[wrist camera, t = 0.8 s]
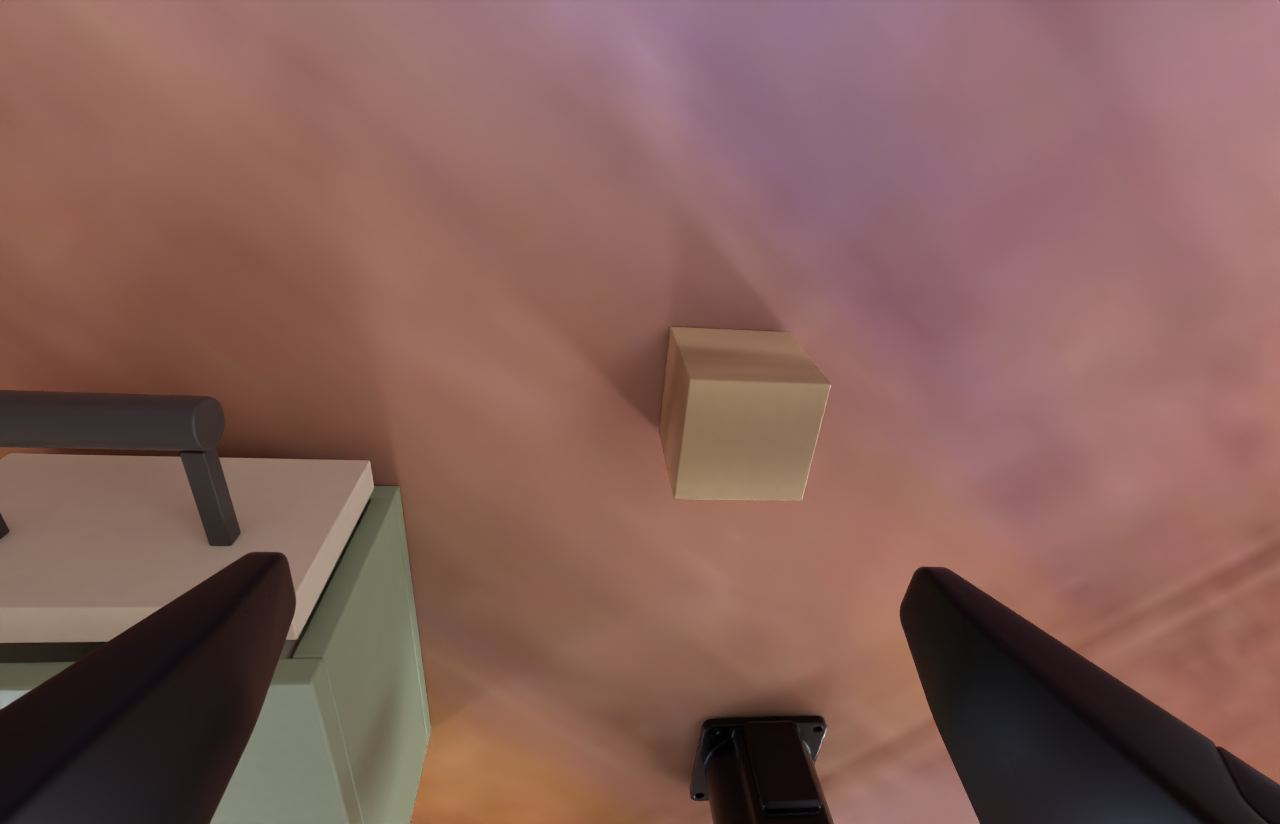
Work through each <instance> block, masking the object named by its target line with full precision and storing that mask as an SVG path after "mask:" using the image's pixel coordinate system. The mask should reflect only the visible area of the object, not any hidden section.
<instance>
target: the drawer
mask: <svg viewBox="0 0 1280 824" xmlns="http://www.w3.org/2000/svg"><path fill="white" fill-rule="evenodd" d="M224 425H225V418H224V412H223V409H222V406H221V405H220V403H219V402H218V401H217V400H216V399H214V398H212V397H209V396H180V395H147V394H114V393H81V392H48V391H15V390H0V447H25V448H73V449H121V450H169V451H181V452H180V457H169V456H119V455H68V454H17V453H10V454H7V455H6V456H4V457H3V458H1V459H0V663H20V662H76V661H78V660H80V659H81V658H83V657H84V656H86V655H87V654H89V653H91V652H92V651H94V650H95V649H97V648H98V647H100V646H102V645H103V644H105V643H106V642H108V641H110V640H111V639H113V638H114V637H116V636H117V635H119V634H121V633H122V632H124V631H125V630H127V629H129V628H130V627H132V626H133V625H135V624H136V623H138V622H140V621H141V620H143V619H144V618H146V617H147V616H149V615H151V614H152V613H154V612H155V611H157V610H159V609H160V608H162V607H163V606H165V605H166V604H168V603H170V602H171V601H173V600H174V599H176V598H177V597H179V596H181V595H182V594H184V593H185V592H187V591H189V590H190V589H192V588H193V587H195V586H196V585H198V584H200V583H201V582H203V581H204V580H206V579H208V578H209V577H211V576H212V575H214V574H215V573H217V572H219V571H220V570H222V569H223V568H225V567H226V566H228V565H230V564H231V563H233V562H234V561H236V560H238V559H239V558H241V557H242V556H244V555H246V554H248V553H250V552H280V553H283V554H284V555H285V556H286V557H287V559H288V562H289V567H290V572H291V576H292V581H293V585H294V590H295V595H296V609H295V614H294V617H293V620H292V623H291V626H290V629H289V632H288V634H287V637H286V640H285V643H284V646H283V649H282V652H281V655H280V657H279V659H287V658H293V656H294V654H295V652H296V650H297V648H298V646H299V644H300V642H301V640H302V638H303V636H304V634H305V632H306V630H307V628H308V626H309V624H310V622H311V620H312V618H313V616H314V614H315V612H316V610H317V608H318V606H319V604H320V602H321V600H322V598H323V595H324V593H325V591H326V589H327V587H328V585H329V583H330V581H331V579H332V577H333V575H334V573H335V571H336V569H337V567H338V565H339V563H340V561H341V559H342V557H343V555H344V553H345V551H346V549H347V547H348V545H349V543H350V541H351V539H352V537H353V535H354V533H355V531H356V529H357V525H356V523H357V521H358V519H359V517H360V515H361V513H362V511H363V509H364V507H365V505H366V503H367V501H368V499H369V497H370V495H371V493H372V491H373V489H374V483H373V476H372V470H371V464H370V461H369V460H321V459H270V458H220V457H219V456H218V452H217V449H216V446H217V445H218V444H219V442H220V440H221V438H222V435H223V432H224Z"/></svg>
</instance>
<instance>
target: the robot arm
mask: <svg viewBox="0 0 1280 824" xmlns="http://www.w3.org/2000/svg"><path fill="white" fill-rule="evenodd" d="M295 609H296V595H295V590H294V585H293V581H292V576H291V572H290V567H289V562H288V559H287V557H286V556H285V555H284V554H283V553H280V552H250V553H248V554H246V555H244V556H242V557H241V558H239V559H238V560H236V561H234V562H233V563H231V564H230V565H228V566H226V567H225V568H223V569H222V570H220V571H219V572H217V573H215V574H214V575H212V576H211V577H209V578H208V579H206V580H204V581H203V582H201V583H200V584H198V585H196V586H195V587H193V588H192V589H190V590H189V591H187V592H185V593H184V594H182V595H181V596H179V597H177V598H176V599H174V600H173V601H171V602H170V603H168V604H166V605H165V606H163V607H162V608H160V609H159V610H157V611H155V612H154V613H152V614H151V615H149V616H147V617H146V618H144V619H143V620H141V621H140V622H138V623H136V624H135V625H133V626H132V627H130V628H129V629H127V630H125V631H124V632H122V633H121V634H119V635H117V636H116V637H114V638H113V639H111V640H110V641H108V642H106V643H105V644H103V645H102V646H100V647H98V648H97V649H95V650H94V651H92V652H91V653H89V654H87V655H86V656H84V657H83V658H81V659H80V660H78V661H76V662H75V663H73V664H72V665H70V666H68V667H67V668H65V669H64V670H62V671H61V672H59V673H57V674H56V675H54V676H53V677H51V678H50V679H48V680H46V681H45V682H43V683H42V684H40V685H38V686H37V687H35V688H34V689H32V690H31V691H29V692H27V693H26V694H24V695H23V696H21V697H20V698H18V699H16V700H15V701H13V702H12V703H10V704H8V705H7V706H5V707H4V708H2V709H1V710H0V824H210V822H211V820H212V818H213V816H214V814H215V812H216V809H217V807H218V805H219V803H220V801H221V799H222V797H223V795H224V792H225V790H226V788H227V786H228V784H229V782H230V780H231V778H232V776H233V773H234V771H235V769H236V767H237V765H238V763H239V761H240V759H241V756H242V754H243V752H244V750H245V748H246V746H247V744H248V741H249V739H250V737H251V734H252V732H253V730H254V728H255V725H256V723H257V720H258V717H259V715H260V712H261V709H262V707H263V704H264V701H265V698H266V695H267V692H268V689H269V686H270V683H271V681H272V678H273V675H274V672H275V669H276V666H277V663H278V660H279V657H280V655H281V652H282V649H283V646H284V643H285V640H286V637H287V634H288V632H289V629H290V626H291V623H292V620H293V617H294V614H295ZM900 620H901V624H902V627H903V630H904V633H905V636H906V639H907V642H908V645H909V648H910V651H911V654H912V657H913V660H914V663H915V666H916V669H917V672H918V675H919V678H920V681H921V684H922V687H923V689H924V692H925V695H926V698H927V701H928V704H929V707H930V710H931V712H932V715H933V718H934V720H935V723H936V725H937V727H938V730H939V732H940V735H941V737H942V739H943V741H944V744H945V746H946V748H947V750H948V753H949V755H950V757H951V759H952V762H953V764H954V766H955V768H956V770H957V773H958V775H959V777H960V779H961V782H962V784H963V786H964V788H965V791H966V793H967V795H968V797H969V800H970V802H971V804H972V806H973V808H974V811H975V813H976V815H977V817H978V820H979V822H980V824H1280V785H1279V784H1278V783H1276V782H1274V781H1273V780H1271V779H1270V778H1268V777H1267V776H1265V775H1263V774H1262V773H1260V772H1259V771H1257V770H1256V769H1254V768H1253V767H1251V766H1250V765H1248V764H1246V763H1245V762H1243V761H1242V760H1240V759H1239V758H1237V757H1236V756H1234V755H1233V754H1231V753H1230V752H1228V751H1227V750H1225V749H1224V748H1222V747H1216V746H1215V744H1214V743H1213V742H1212V741H1211V740H1210V739H1208V738H1207V737H1205V736H1204V735H1202V734H1200V733H1199V732H1197V731H1196V730H1194V729H1193V728H1191V727H1190V726H1188V725H1187V724H1185V723H1184V722H1182V721H1181V720H1179V719H1178V718H1176V717H1174V716H1173V715H1171V714H1170V713H1168V712H1167V711H1165V710H1164V709H1162V708H1161V707H1159V706H1158V705H1156V704H1155V703H1153V702H1152V701H1150V700H1148V699H1147V698H1145V697H1144V696H1142V695H1141V694H1139V693H1138V692H1136V691H1135V690H1133V689H1132V688H1130V687H1129V686H1127V685H1125V684H1124V683H1122V682H1121V681H1119V680H1118V679H1116V678H1115V677H1113V676H1112V675H1110V674H1109V673H1107V672H1106V671H1104V670H1103V669H1101V668H1099V667H1098V666H1096V665H1095V664H1093V663H1092V662H1090V661H1089V660H1087V659H1086V658H1084V657H1083V656H1081V655H1080V654H1078V653H1077V652H1075V651H1073V650H1072V649H1070V648H1069V647H1067V646H1066V645H1064V644H1063V643H1061V642H1060V641H1058V640H1057V639H1055V638H1054V637H1052V636H1050V635H1049V634H1047V633H1046V632H1044V631H1043V630H1041V629H1040V628H1038V627H1037V626H1035V625H1034V624H1032V623H1031V622H1029V621H1028V620H1026V619H1024V618H1023V617H1021V616H1020V615H1018V614H1017V613H1015V612H1014V611H1012V610H1011V609H1009V608H1008V607H1006V606H1005V605H1003V604H1002V603H1000V602H998V601H997V600H995V599H994V598H992V597H991V596H989V595H988V594H986V593H985V592H983V591H982V590H980V589H979V588H977V587H976V586H974V585H972V584H971V583H969V582H968V581H966V580H965V579H963V578H962V577H960V576H959V575H957V574H956V573H954V572H953V571H951V570H949V569H947V568H944V567H920V568H918V569H917V570H916V571H915V572H914V574H913V577H912V579H911V581H910V584H909V586H908V589H907V591H906V593H905V596H904V598H903V601H902V603H901V606H900ZM826 730H827V725H826V723H825V720H824V718H823V717H821V716H798V717H762V718H726V719H709V720H707V721H705V722H704V723H703V725H702V729H701V734H700V739H699V744H698V749H697V754H696V759H695V764H694V769H693V774H692V779H691V784H690V795H691V798H692V799H693V800H695V801H706V800H709V802H710V808H711V813H712V819H713V824H834V822H833V820H832V817H831V814H830V811H829V808H828V805H827V802H826V799H825V796H824V793H823V790H822V787H821V784H820V781H819V778H818V775H817V772H816V770H815V767H814V764H815V761H816V758H817V755H818V753H819V750H820V747H821V744H822V741H823V738H824V736H825V733H826Z"/></svg>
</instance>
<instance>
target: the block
mask: <svg viewBox="0 0 1280 824" xmlns="http://www.w3.org/2000/svg"><path fill="white" fill-rule="evenodd" d="M830 388H831V383H830V382H829V381H828V380H827V378H826V377H825V376H824V375H823V374H822V372H821V371H820V370H819V369H818V368H817V366H816V365H815V364H814V363H813V361H812V360H811V359H810V358H809V357H808V355H807V354H806V353H805V352H804V350H803V349H802V348H801V347H800V346H799V344H798V343H797V342H796V341H795V340H794V338H793V337H792V336H791V335H790V333H789V332H774V331H752V330H731V329H709V328H687V327H671V328H670V336H669V345H668V354H667V363H666V373H665V382H664V391H663V400H662V409H661V418H660V428H659V433H660V438H661V443H662V447H663V452H664V456H665V461H666V465H667V470H668V474H669V479H670V483H671V488H672V492H673V497H674V499H711V500H784V501H801V500H802V498H803V494H804V490H805V486H806V482H807V479H808V475H809V471H810V467H811V463H812V459H813V455H814V451H815V447H816V443H817V439H818V435H819V431H820V427H821V423H822V419H823V415H824V411H825V407H826V403H827V399H828V395H829V391H830Z"/></svg>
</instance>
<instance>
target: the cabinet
mask: <svg viewBox="0 0 1280 824" xmlns="http://www.w3.org/2000/svg"><path fill="white" fill-rule="evenodd" d="M356 525H357V529H356V531H355V533H354V535H353V537H352V539H351V541H350V543H349V545H348V547H347V549H346V551H345V553H344V555H343V557H342V559H341V561H340V563H339V565H338V567H337V569H336V571H335V573H334V575H333V577H332V579H331V581H330V583H329V585H328V587H327V589H326V591H325V593H324V595H323V598H322V600H321V602H320V604H319V606H318V608H317V610H316V612H315V614H314V616H313V618H312V620H311V622H310V624H309V626H308V628H307V630H306V632H305V634H304V636H303V638H302V640H301V642H300V644H299V646H298V648H297V650H296V652H295V654H294V656H293V658H287V659H279V660H278V663H277V666H276V669H275V672H274V675H273V678H272V681H271V683H270V686H269V689H268V692H267V695H266V698H265V701H264V704H263V707H262V709H261V712H260V715H259V717H258V720H257V723H256V725H255V728H254V730H253V732H252V734H251V737H250V739H249V741H248V744H247V746H246V748H245V750H244V752H243V754H242V756H241V759H240V761H239V763H238V765H237V767H236V769H235V771H234V773H233V776H232V778H231V780H230V782H229V784H228V786H227V788H226V790H225V792H224V795H223V797H222V799H221V801H220V803H219V805H218V807H217V809H216V812H215V814H214V816H213V818H212V820H211V822H210V824H410V822H411V817H412V813H413V809H414V804H415V800H416V796H417V791H418V787H419V783H420V778H421V774H422V769H423V765H424V761H425V756H426V752H427V748H428V742H429V738H430V734H431V725H430V717H429V709H428V702H427V694H426V686H425V679H424V671H423V663H422V656H421V648H420V640H419V632H418V625H417V617H416V609H415V602H414V594H413V586H412V579H411V571H410V563H409V556H408V548H407V540H406V533H405V525H404V517H403V510H402V502H401V494H400V488H399V486H374V489H373V491H372V493H371V495H370V497H369V499H368V501H367V503H366V505H365V507H364V509H363V511H362V513H361V515H360V517H359V519H358V521H357V523H356ZM73 663H75V662H20V663H0V710H1V709H2V708H4V707H5V706H7V705H8V704H10V703H12V702H13V701H15V700H16V699H18V698H20V697H21V696H23V695H24V694H26V693H27V692H29V691H31V690H32V689H34V688H35V687H37V686H38V685H40V684H42V683H43V682H45V681H46V680H48V679H50V678H51V677H53V676H54V675H56V674H57V673H59V672H61V671H62V670H64V669H65V668H67V667H68V666H70V665H72V664H73Z"/></svg>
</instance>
